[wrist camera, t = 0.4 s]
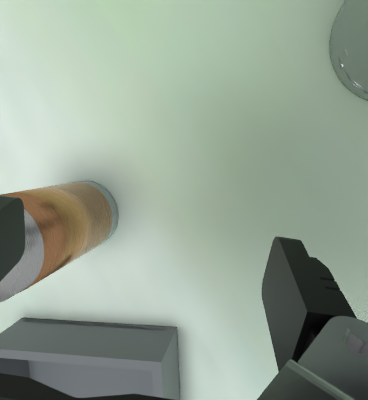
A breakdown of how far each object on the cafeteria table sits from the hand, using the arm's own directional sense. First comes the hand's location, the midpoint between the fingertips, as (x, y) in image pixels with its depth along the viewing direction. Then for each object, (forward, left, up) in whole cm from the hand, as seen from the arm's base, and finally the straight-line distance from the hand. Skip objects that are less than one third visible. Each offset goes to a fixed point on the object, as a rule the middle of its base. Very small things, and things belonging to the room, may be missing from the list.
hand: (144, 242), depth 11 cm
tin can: (+10, -7, -19) cm, 23 cm away
